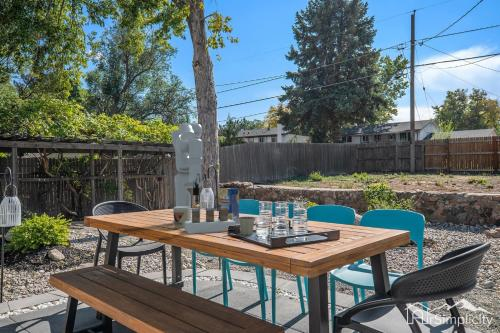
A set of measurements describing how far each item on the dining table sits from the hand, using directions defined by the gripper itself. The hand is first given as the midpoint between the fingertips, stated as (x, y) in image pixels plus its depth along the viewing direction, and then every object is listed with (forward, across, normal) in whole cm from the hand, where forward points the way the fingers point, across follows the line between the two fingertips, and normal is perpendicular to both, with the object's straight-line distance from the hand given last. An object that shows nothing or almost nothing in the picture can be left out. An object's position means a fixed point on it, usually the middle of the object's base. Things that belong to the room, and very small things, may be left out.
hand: (195, 195), depth 211 cm
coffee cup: (+20, -20, -4) cm, 28 cm away
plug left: (+15, -1, 0) cm, 15 cm away
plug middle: (+15, -1, +8) cm, 17 cm away
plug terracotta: (+15, -1, +16) cm, 22 cm away
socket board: (+20, -1, +8) cm, 21 cm away
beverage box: (+20, -21, +26) cm, 39 cm away
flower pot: (+20, +19, +22) cm, 36 cm away
